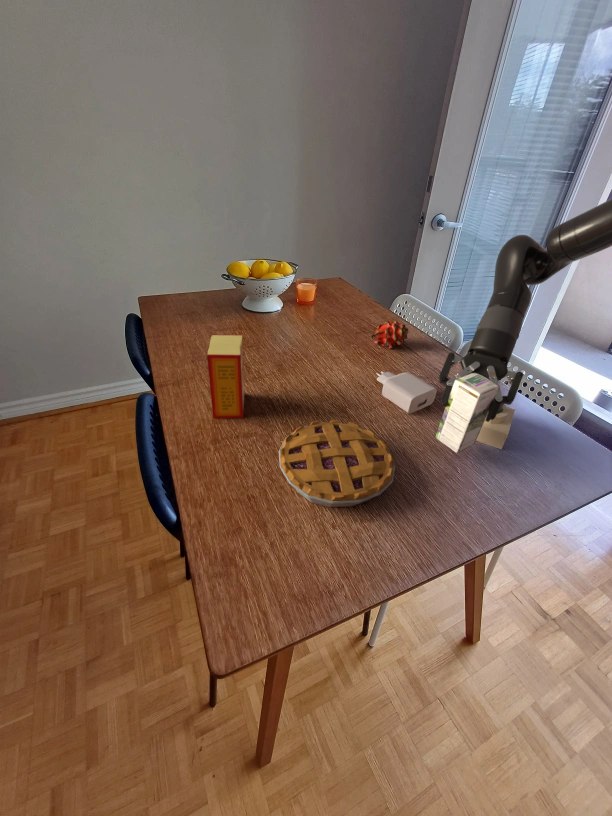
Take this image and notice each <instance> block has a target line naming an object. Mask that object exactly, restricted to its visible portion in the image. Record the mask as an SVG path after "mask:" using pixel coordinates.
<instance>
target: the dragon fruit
mask: <svg viewBox="0 0 612 816" xmlns="http://www.w3.org/2000/svg"><path fill="white" fill-rule="evenodd" d="M408 334H409V328H408V327H406V324H405V323H399V322H398V320H396V319H394V320H393V322H392V321H391V320H386V321H385V322H384V323H380V324H378V326H377V328H376V329H375V331H374V332H373V334H372V335H371V339H375V340H374V342H373V343H374V344H375V345H378V346H382V347H384V346H385V347H387V346H388V349H389V350H391V349H393V348H395V347H398V346H402V345H403V344H405V343H406V342H407V341H405V340H406V339H408Z"/></svg>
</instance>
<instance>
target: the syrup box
mask: <svg viewBox="0 0 612 816" xmlns="http://www.w3.org/2000/svg"><path fill="white" fill-rule="evenodd" d="M498 389H499V387H498V385H496V384H495V383H493V382H492V381H490V380H489V379H487V378H485V377H483V376H481V375H479V374H477V373H472V374H469V375H467V376H464V377H462V378H459V379H457V380H455V382H454V385H453V388H452V391H451V393H450V396H449V399H448V402H447V405H446V408H445V407H444V411H443V414H442V417H441V419H440V423H439V425H438V428H437V431H436V434H435V439H436V440H438V441H439V442H440V443H442V444H443V445H445V446H446V447H448V448H449V449H450V450H452V452H455V453H456V454H459V453H461V452H463V451H464V450H466V449H468V448H470V447H471V446H473V445H475V444H476V442H477V441H476V440H477V437H478V435H479V433H480V430H481V428H482V426H483V423H484V421H485V419H486V417H487V414H488V412H489V410H490V407H491V405H492V402H493V400H494V398H495V395H496V393H497V391H498Z"/></svg>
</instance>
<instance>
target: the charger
mask: <svg viewBox="0 0 612 816" xmlns="http://www.w3.org/2000/svg"><path fill="white" fill-rule="evenodd" d="M380 373H381V374H380ZM380 373H378V372H376V373H375V375H377V376H378V377H377V378H376V381H377V382H379V383H380V384H382V390H381V396H383V398H385V399H387V400H388V401H390V403H392V404H394V405H396V406H397V407H398V408H399V409H401V410H403V411H404V412H406V413H407V414H408V415H409V414H413V413H415V412H417V411H420V410H422V409H424V408H427V407H429V406H431V405H432V404H433V403H434V401H435V398H436V396H437V392H438V389H437V388H436V387H434V386H433V385H431V384H430V383H428V382H426V381H424V380H423V379H421V378H419V377H418V376H416V375H414V373H413V374H412V373H411V372H401V373H398V374H395V373H393V372H391V371H386V372H385V371H382V370H381V371H380Z"/></svg>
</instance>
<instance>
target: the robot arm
mask: <svg viewBox="0 0 612 816" xmlns="http://www.w3.org/2000/svg"><path fill="white" fill-rule="evenodd" d="M545 247H546V248H545ZM545 247H544V246H542V245H541V244H540V243H539V242H537V241H536V240H535V239H534V238H533V237H531V236H529V235H527V234H518V235H515V236H513V237H511V238H510V239H509V240H507V241H506V242H505V243H504V245H503V246H502V247H501V249H500V250H499V253H498V255H497V257H496V261H495V267H494V268H495V269H494V278H493V290H492V294H491V297H490V299H489V301H488V304H487V306H486V308H485V311H484V313H483V315H482V316H481V318H480V321H479V323H478V324H477V326H476V330H475V332H474V335H473V338H472V340H471V342H470V345H469V348H468V350H467V353H466V354H465V355H463V356H460V355H457V354H455V353H454V352H453V351H452V352H449V353H448V355H447V357H446V359H445V361H444V363H443V366H442V368H441V370H440V373H439V375H438V382H439V383H440V384H441V385H443V386H444V387H445V388H444V390H443V392H442V394H441V397H440V404H442V407H443V408H444V409H445V408H446V405H447V402H448V399H449V396H450V393H451V391H452V388H453V385H454V382H455V380H457V379H459V378H462V377H464V376H467V375H469V374H472V373H477V374H479V375H481V376H483V377H485V378H487V379H489V380H490V381H492V382H493V383H495V384H496V385H498V387H499V389H498V391H497V393H496V395H495V398H494V401H493V402H492V405H491V407H490V410H489V412H488V415H487V417H486V420H485V421H487V422H489V421H490V419H491V420H494V419H495V417H496V415H497V412H498V410H499V407H500V405H502V404H504V405H512V404H513V402H514V401H515V398H516V396H517V393H518V391H519V388H520V385H521V383H522V380H523V377H524V373H523V372H522V371H516V372H515V371H512V370H509V369H508V364H509V362H510V359H511V357H512V354H513V352H514V350H515V347H516V344H517V341H518V339H519V337H520V334H521V331H522V328H523V323H524V319H525V317H526V315H527V312H528V310H529V307H530V305H531V302H532V299H533V297H532V296H533V295H532V291H531V289H530V288H529V286H537V285H540V284H542V283H545V282H547V281H548V280H549V279H551V278H552V277H553V276H554V275H556V274H557V273H559V272H560V271H562V270H563V269H565V268H566V267H568V266H569V265H570V264H571V263H574V262H576V261H579V260H581V259H584V258H587V257H589V256H592V255H594V254H597V253H599V252H602V251H604V250H606V249H608V248H611V247H612V198H610V199H608V200H605V201H604V202H603V203H600V204H598V205H596V206H594V207H592V208H590V209H588V210H586V211H584V212H582V213H580V214H578V215H575V216H574V217H572V218H570V219H568V220H566V221H564V222H562V223H560V224H558V225H556V226H555V227H553V228H552V229H551V230H550V231H549V232H548V233H547V236H546V238H545ZM458 364H460V366H461V368H462V370H460V371H459V372H458V373H457V374H456V375H455V376H453V377H451V378H448V376H449V374H450V371H451V369H452V367H456V366H457V365H458ZM505 377H506V378H507V382H508V384H510V387H509V390H508V392H507V395H502V391H501V387H500V384H499V383H500V382H499V381H501V380H502V379H504V378H505Z"/></svg>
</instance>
